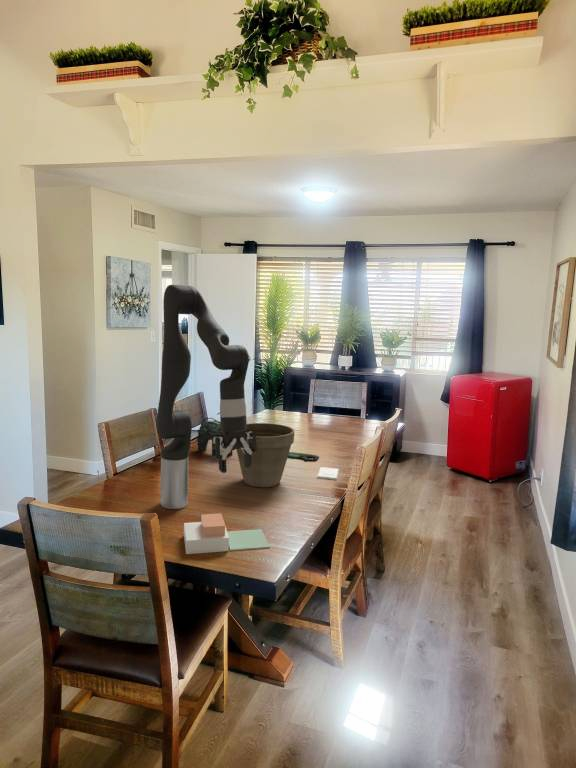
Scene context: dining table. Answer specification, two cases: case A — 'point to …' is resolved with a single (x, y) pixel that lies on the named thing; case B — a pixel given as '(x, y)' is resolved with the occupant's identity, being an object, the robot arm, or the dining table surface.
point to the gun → (303, 456)
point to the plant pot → (267, 454)
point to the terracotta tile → (212, 525)
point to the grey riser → (203, 540)
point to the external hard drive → (328, 473)
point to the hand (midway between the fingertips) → (235, 469)
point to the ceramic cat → (209, 434)
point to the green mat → (247, 540)
